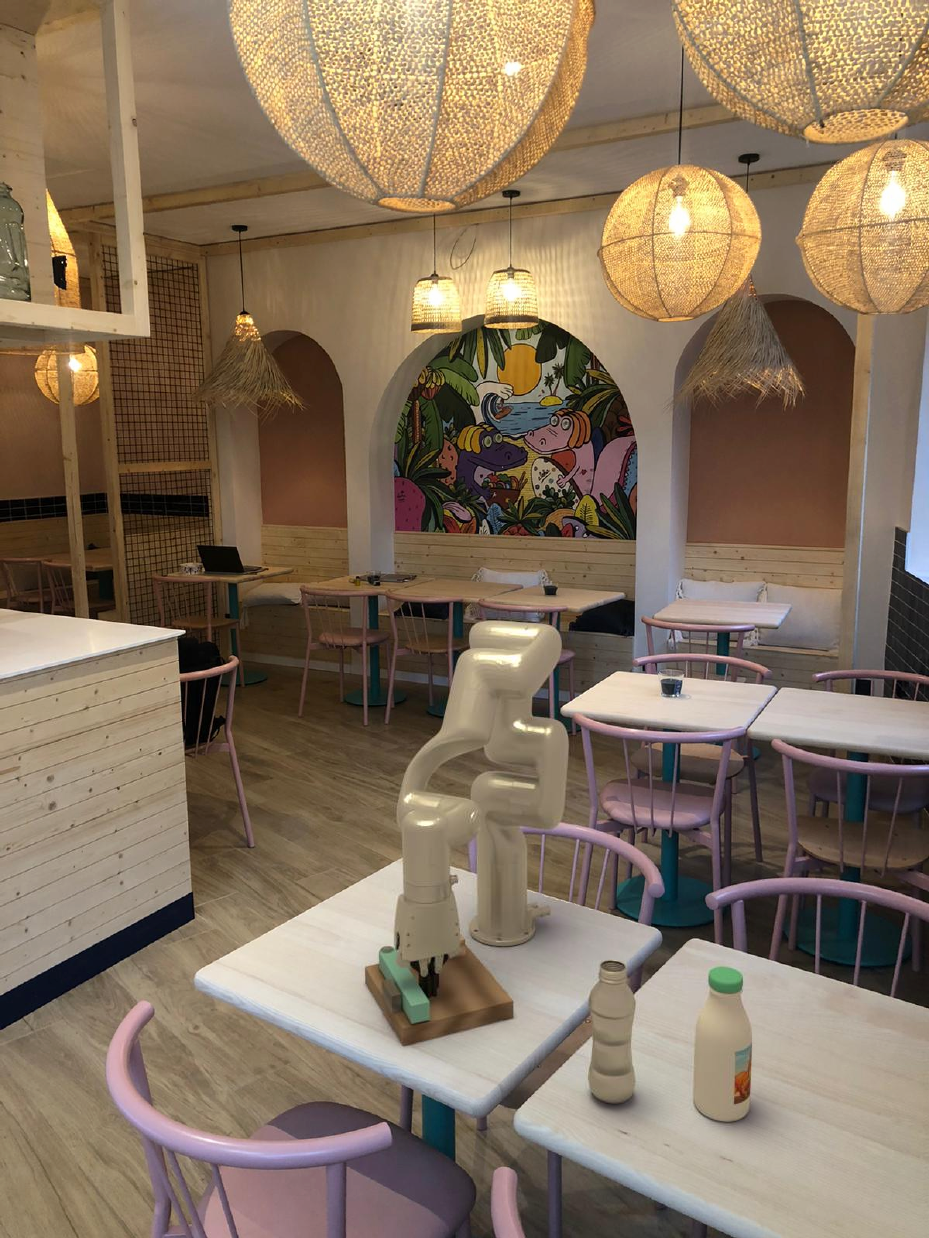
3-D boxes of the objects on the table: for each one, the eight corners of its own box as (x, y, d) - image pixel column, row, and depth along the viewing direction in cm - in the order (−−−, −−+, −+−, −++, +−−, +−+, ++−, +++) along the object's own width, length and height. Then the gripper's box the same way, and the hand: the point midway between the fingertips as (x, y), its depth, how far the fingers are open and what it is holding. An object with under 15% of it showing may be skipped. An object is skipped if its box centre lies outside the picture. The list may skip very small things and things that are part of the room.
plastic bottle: (634, 1112, 136) (637, 980, 132) (585, 1106, 137) (586, 975, 134) (635, 1083, 142) (638, 956, 139) (589, 1078, 144) (590, 952, 140)
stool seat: (465, 959, 177) (465, 928, 176) (513, 1017, 159) (513, 983, 158) (364, 982, 170) (363, 950, 169) (401, 1046, 152) (400, 1010, 151)
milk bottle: (715, 1129, 132) (720, 994, 129) (681, 1096, 139) (685, 966, 136) (761, 1114, 135) (767, 981, 132) (725, 1081, 142) (730, 954, 139)
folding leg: (377, 963, 169) (376, 947, 169) (393, 960, 171) (393, 944, 170) (411, 1023, 152) (411, 1005, 151) (429, 1019, 153) (429, 1001, 152)
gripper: (460, 870, 162) (462, 972, 165) (374, 886, 156) (378, 992, 159) (479, 888, 155) (480, 994, 158) (390, 906, 149) (393, 1016, 152)
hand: (429, 992), depth 159 cm, fingers closed
